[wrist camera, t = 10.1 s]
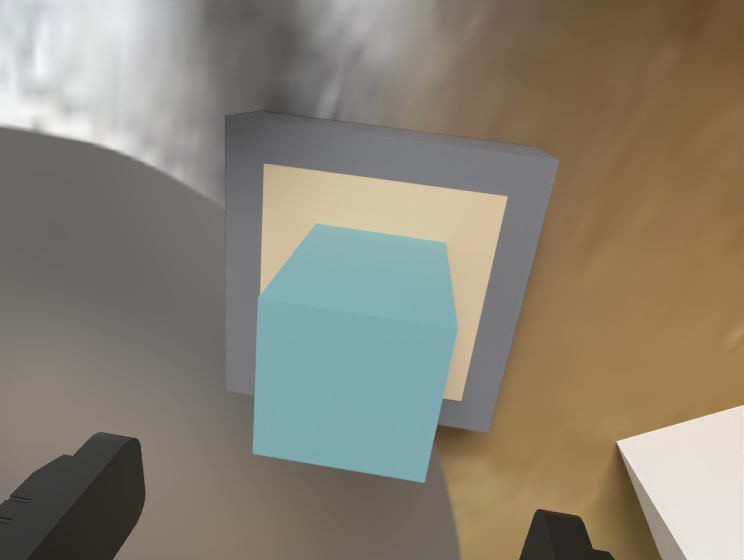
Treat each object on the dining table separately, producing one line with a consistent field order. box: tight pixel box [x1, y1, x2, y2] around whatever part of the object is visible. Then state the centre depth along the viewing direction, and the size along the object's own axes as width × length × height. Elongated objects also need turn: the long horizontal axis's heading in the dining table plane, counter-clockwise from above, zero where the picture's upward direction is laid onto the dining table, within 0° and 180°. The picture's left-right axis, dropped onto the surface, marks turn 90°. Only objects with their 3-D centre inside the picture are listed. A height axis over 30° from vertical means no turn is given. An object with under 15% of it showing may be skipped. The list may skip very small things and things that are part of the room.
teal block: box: [253, 223, 458, 483], centre depth 16 cm, size 5×5×7 cm
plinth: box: [225, 111, 560, 433], centre depth 21 cm, size 12×12×4 cm
